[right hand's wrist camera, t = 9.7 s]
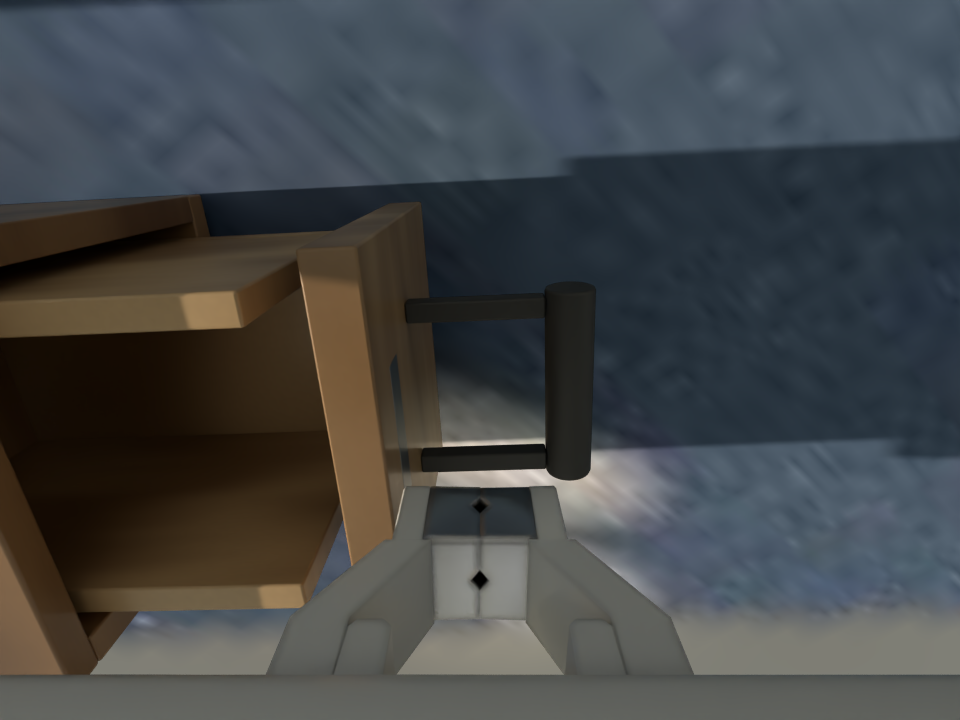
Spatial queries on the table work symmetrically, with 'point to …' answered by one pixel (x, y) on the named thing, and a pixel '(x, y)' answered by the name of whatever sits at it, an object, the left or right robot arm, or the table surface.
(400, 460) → the drawer
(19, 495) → the cabinet
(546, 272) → the table surface
